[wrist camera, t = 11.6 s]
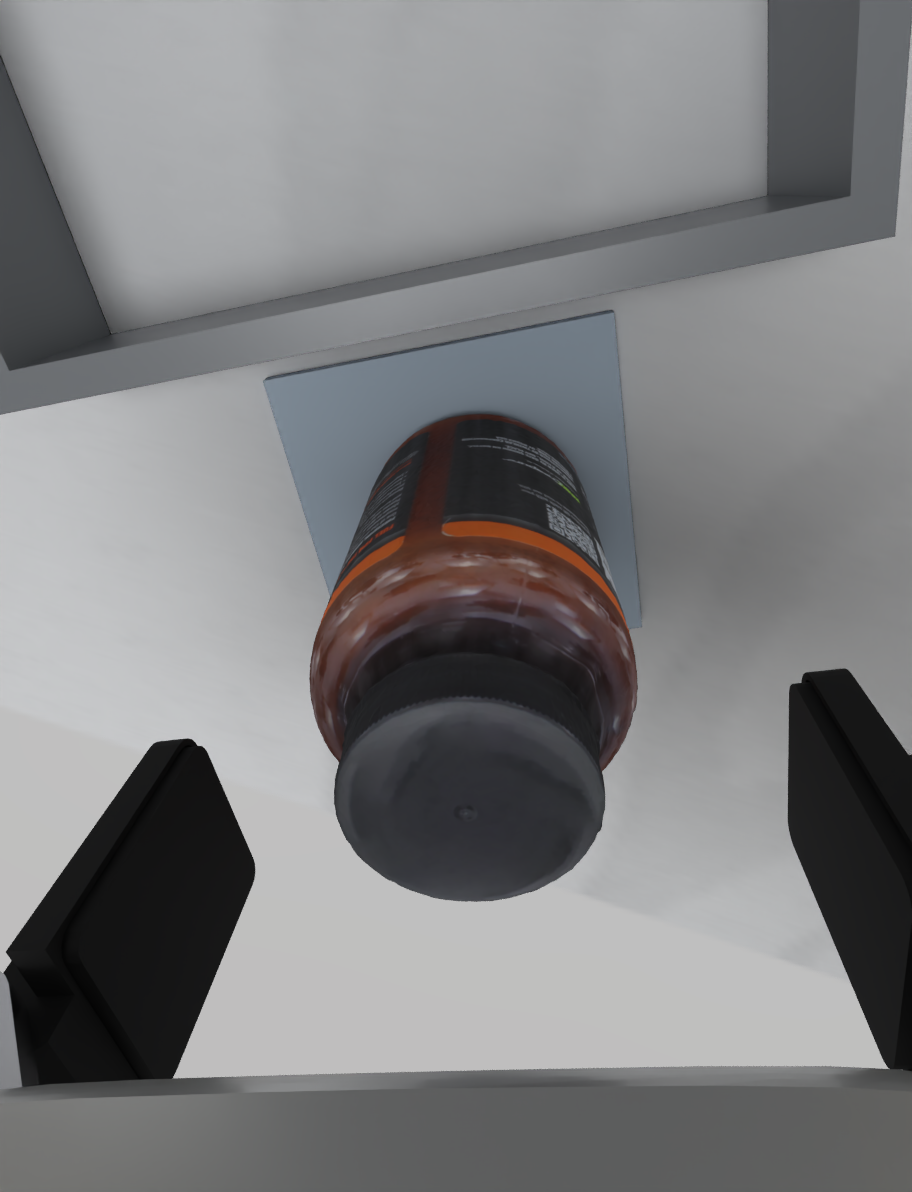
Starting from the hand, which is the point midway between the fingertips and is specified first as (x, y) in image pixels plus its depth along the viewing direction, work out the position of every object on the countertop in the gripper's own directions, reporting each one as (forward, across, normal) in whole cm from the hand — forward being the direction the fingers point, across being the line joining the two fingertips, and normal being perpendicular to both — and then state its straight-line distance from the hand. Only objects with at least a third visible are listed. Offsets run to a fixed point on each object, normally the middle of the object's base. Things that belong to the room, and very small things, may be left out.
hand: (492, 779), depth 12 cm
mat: (+10, +1, -1) cm, 11 cm away
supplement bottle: (+10, +1, -1) cm, 10 cm away
